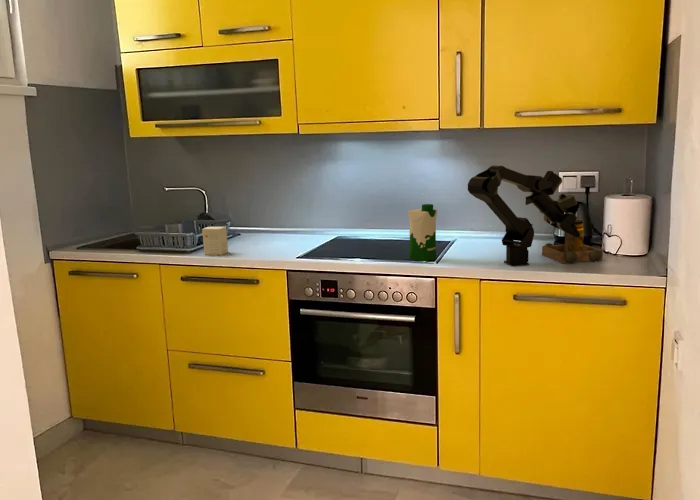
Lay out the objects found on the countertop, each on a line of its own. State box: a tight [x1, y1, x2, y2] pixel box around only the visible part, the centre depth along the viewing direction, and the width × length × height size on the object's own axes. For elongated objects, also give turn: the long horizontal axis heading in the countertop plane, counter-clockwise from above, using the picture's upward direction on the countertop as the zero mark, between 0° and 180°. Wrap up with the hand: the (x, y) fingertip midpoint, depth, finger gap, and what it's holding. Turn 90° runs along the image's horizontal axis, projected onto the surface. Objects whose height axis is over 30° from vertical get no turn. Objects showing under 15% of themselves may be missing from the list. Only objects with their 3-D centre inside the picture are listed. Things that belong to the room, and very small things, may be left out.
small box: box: [201, 226, 229, 256], centre depth 247 cm, size 8×6×10 cm
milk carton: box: [407, 203, 438, 262], centre depth 222 cm, size 9×9×20 cm
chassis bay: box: [541, 242, 604, 264], centre depth 218 cm, size 15×16×4 cm
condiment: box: [563, 219, 585, 253], centre depth 217 cm, size 7×8×12 cm
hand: (575, 234), depth 217 cm, fingers closed on condiment, 6 cm apart
